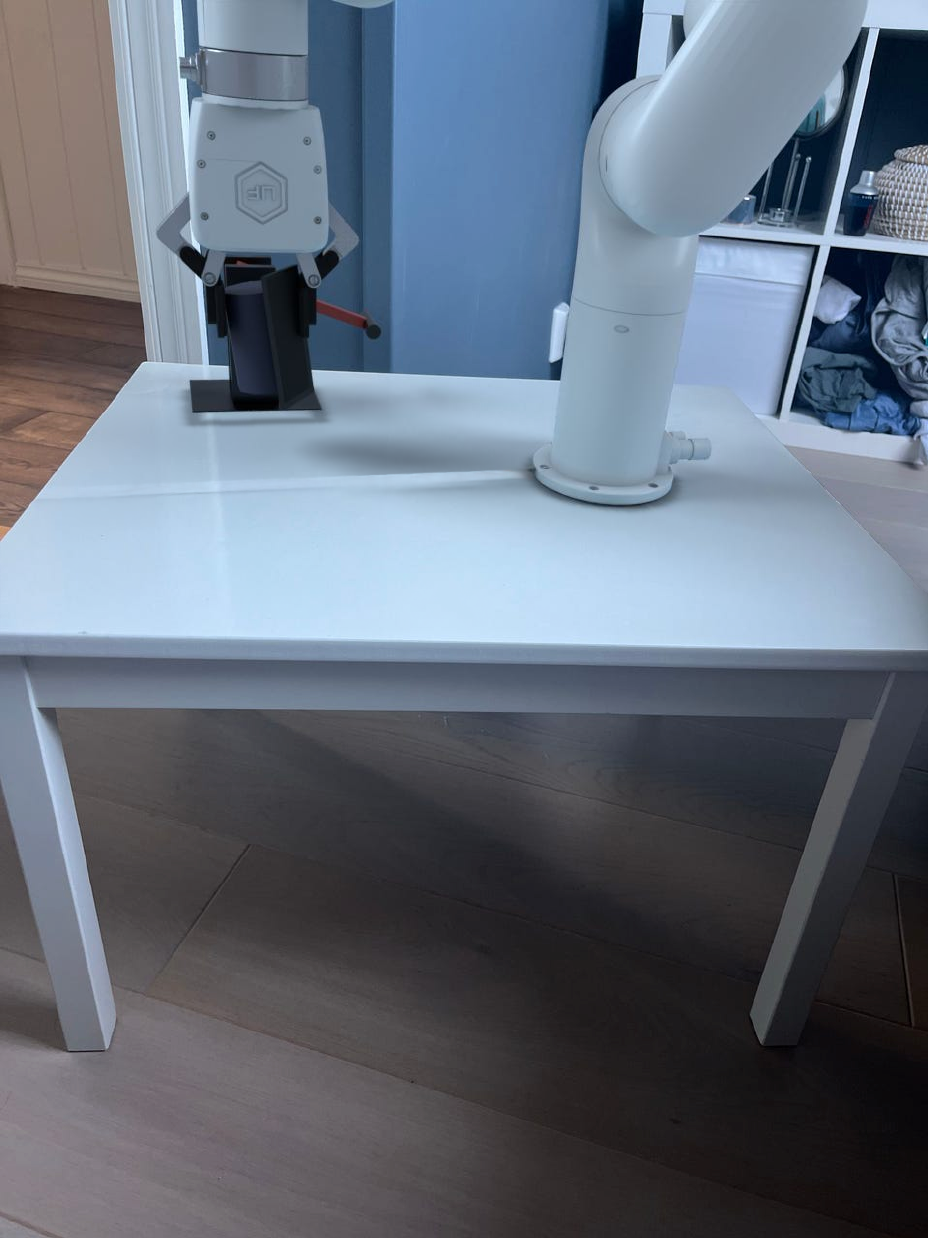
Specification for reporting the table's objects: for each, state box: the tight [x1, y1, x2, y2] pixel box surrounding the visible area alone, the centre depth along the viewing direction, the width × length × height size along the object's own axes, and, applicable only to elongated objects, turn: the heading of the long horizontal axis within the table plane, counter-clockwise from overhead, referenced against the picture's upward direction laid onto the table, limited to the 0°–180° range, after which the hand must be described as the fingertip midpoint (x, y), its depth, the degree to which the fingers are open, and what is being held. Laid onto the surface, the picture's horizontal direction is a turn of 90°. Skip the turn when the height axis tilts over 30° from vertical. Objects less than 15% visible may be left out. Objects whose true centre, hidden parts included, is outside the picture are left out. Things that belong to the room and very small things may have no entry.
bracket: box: [189, 253, 322, 414], centre depth 93 cm, size 12×9×14 cm
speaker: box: [225, 263, 315, 410], centre depth 79 cm, size 8×6×10 cm
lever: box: [237, 261, 382, 340], centre depth 92 cm, size 14×5×2 cm, turn 105°
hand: (262, 331), depth 79 cm, fingers closed on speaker, 5 cm apart
